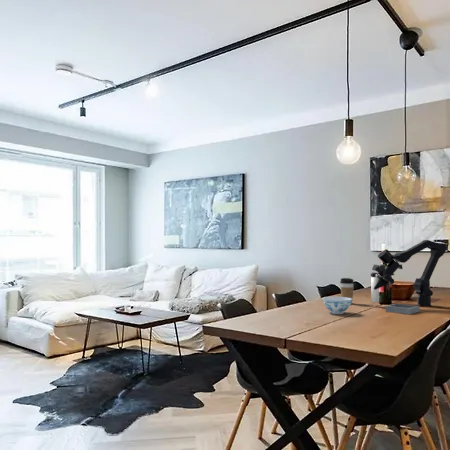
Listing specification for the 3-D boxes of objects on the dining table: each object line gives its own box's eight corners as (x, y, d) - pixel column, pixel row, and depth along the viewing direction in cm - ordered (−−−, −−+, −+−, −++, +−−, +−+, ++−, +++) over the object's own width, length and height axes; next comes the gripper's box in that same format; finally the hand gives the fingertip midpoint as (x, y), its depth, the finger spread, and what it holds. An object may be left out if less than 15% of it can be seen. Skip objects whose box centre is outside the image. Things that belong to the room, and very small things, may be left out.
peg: (377, 301, 262) (377, 277, 262) (379, 302, 258) (379, 277, 258) (370, 301, 262) (370, 277, 262) (372, 302, 258) (371, 277, 258)
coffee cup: (352, 302, 277) (352, 278, 277) (355, 304, 269) (355, 279, 269) (339, 302, 278) (338, 278, 278) (341, 304, 269) (341, 279, 270)
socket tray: (395, 308, 252) (395, 303, 252) (419, 311, 243) (419, 306, 243) (385, 311, 242) (385, 306, 243) (409, 314, 233) (409, 308, 233)
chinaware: (355, 315, 230) (355, 300, 230) (326, 315, 230) (326, 300, 230) (347, 310, 245) (347, 296, 245) (319, 310, 245) (319, 296, 245)
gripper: (373, 259, 270) (356, 277, 268) (389, 260, 252) (370, 280, 250) (385, 271, 271) (368, 290, 269) (402, 274, 253) (384, 294, 251)
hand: (372, 288), depth 260 cm, fingers closed on peg, 4 cm apart
